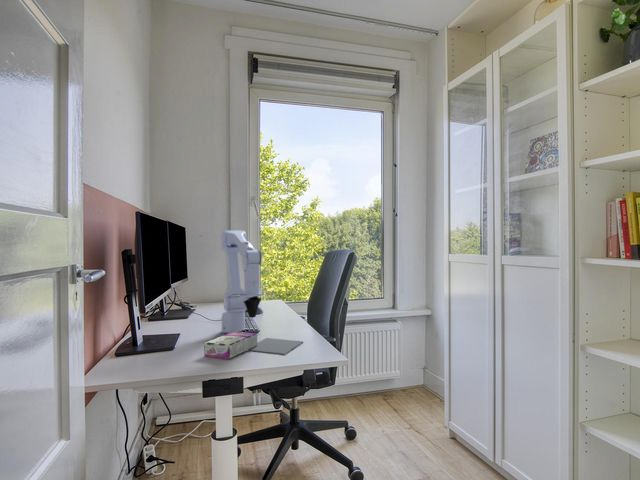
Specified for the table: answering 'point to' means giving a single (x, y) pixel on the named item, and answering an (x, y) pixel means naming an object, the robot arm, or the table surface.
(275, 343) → the charcoal mat
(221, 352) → the candy bar box
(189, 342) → the table surface
